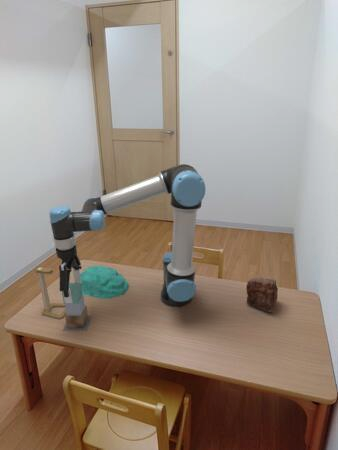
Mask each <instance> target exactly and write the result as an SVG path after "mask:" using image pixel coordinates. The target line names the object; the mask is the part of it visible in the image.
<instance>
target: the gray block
mask: <svg viewBox="0 0 338 450" xmlns="http://www.w3.org/2000/svg"><path fill="white" fill-rule="evenodd" d="M84 298H85V297H84V295H82V297H81V299H80V301H79V304H65V307H64V309H65V308H66V314H67V316H81V315H82V313H83V310H84V308H85V306H86V305H85V304H86V303H85V299H84Z"/></svg>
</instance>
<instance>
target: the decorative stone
mask: <svg viewBox="0 0 338 450" xmlns="http://www.w3.org/2000/svg"><path fill="white" fill-rule="evenodd" d="M80 275H81V281H82V283H81V288H82V295H83V296H89V297H93V298H98V299H104V300H105V299H106V300H107V299H115V298H117V297H119V296H123V295H124V294H125V293H126V292H127V291H128V290H129V288H130V285H129V283H128V281H127V280H126V278H125V277H124V275H122V274H120V273H119V272H118V270H117V269H116V268H115V269H114V268H112V267H108V266H103V265H92V266H89V267H88V268H85V269H84V270H83V271H81V272H80Z"/></svg>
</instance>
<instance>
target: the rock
mask: <svg viewBox="0 0 338 450" xmlns="http://www.w3.org/2000/svg"><path fill="white" fill-rule="evenodd" d="M245 286H246V289H245V290H246V294H247V297H246V304H247V305H250V306H251V307H254V308H256V309H258V310H261V311H264V312H268V313H272V312H274V311H275V308H276V304H277V301H278V291H279V288H278V286H277V280H276V279H272V278H264V277H254V278H250V279H249V280H248V281H247V284H246V285H245Z"/></svg>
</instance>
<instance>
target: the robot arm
mask: <svg viewBox="0 0 338 450" xmlns="http://www.w3.org/2000/svg"><path fill="white" fill-rule="evenodd" d="M162 194H167V195H169V194H170V206H171V207H172V208H173V226H172V238H171V239H172V243H171V251H168V252H166V253H164V254H163V256H162V264H163V267H162V269H163V271H162V272H163V284H162V287H161V290H160V300H161V302H162V303H164V304H165V305H167V306H169V307H183V306H185V305H188V304H190V303H191V302H192V299H193V297H194V296H195V294H196V291H197V286H196V284H195V276H196V266H195V265H194V264H193V257H194V248H195V247H194V246H195V234H196V225H197V224H196V223H197V212H198V210H199V209H201V207H202V202H203V199H204V198H205V195H206V184H205V180H204V179H203V177H202V175H200V174H199V173H198V171H197V170H196V169H195V167H193V166H192V165H190V164H187V163H186V164H185V163H182V164H178V165H175V166H172V167H169V168H167V169H164V170H161V171H159V173H158V175H155V176H152V177H150V178H146V179H144V180H141V181H139V182H136V183H134V184H131V185H128V186H125V187H121V188H119V189H117V190H115V191H112V192H108V193H107V194H103V195H101V196H98V197H94V196H92V197H88V198H87V199H86V201H84V203H83V206H82V210H81V211H71V209H70V207H69V206H67V205H66V206H64V205H61V206H60V205H59V206H56V207H53V208H51V209H50V210H49V223H50V226H51V231H52V236H53V239H52V240H53V241H54V246H55V253H56V257H57V258H58V259H60V260H61V264H59V265H58V269H59V292H62V291H63V295H64V300H65V303H72V296H71V291H70V288H69V283H70V278H71V272H72V274H73V279H74V283H82V281H81V275H80V274H81V270H82V266H81V265H82V264H81V261H80V259H79V256H78V250H77V245H76V243H77V242H76V239H75V237H76V236H75V233H77V232H96V231H102V230H104V229H105V226H106V225H105V224H106V220H105V215H107V214H110V213H112V212H115V211H117V210H121V209H124V208H126V207H130V206H132V205H135V204H137V203H140V202H143V201H146V200H148V199H151V198H153V197H156V196H159V195H162Z"/></svg>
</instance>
